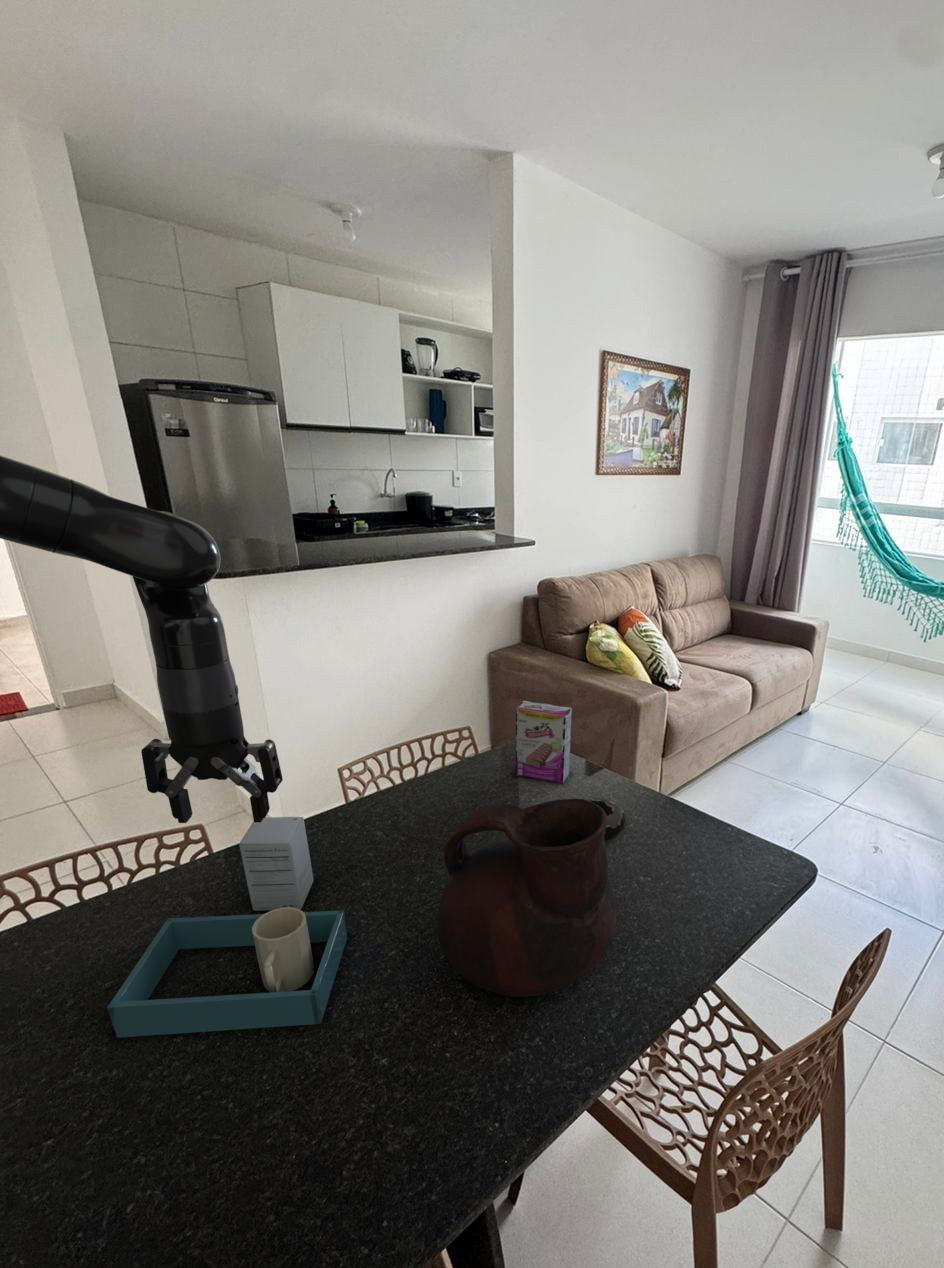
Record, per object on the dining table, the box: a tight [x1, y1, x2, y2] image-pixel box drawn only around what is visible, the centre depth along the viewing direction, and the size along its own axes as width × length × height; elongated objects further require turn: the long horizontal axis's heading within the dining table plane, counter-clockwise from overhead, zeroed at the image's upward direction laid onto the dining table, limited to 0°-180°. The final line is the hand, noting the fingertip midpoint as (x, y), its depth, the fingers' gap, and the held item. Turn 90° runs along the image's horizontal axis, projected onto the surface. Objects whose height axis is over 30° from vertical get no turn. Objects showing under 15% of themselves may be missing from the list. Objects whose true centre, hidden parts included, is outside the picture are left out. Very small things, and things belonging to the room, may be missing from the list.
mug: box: [252, 907, 315, 993], centre depth 87 cm, size 9×6×9 cm
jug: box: [436, 798, 618, 998], centre depth 91 cm, size 25×25×25 cm
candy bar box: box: [515, 700, 573, 784], centre depth 142 cm, size 11×5×16 cm, turn 77°
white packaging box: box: [238, 816, 314, 912], centre depth 103 cm, size 7×7×13 cm
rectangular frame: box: [106, 909, 348, 1039], centre depth 88 cm, size 24×16×5 cm, turn 97°
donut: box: [583, 797, 627, 841], centre depth 127 cm, size 12×12×4 cm
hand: (223, 819), depth 81 cm, fingers open, 8 cm apart
